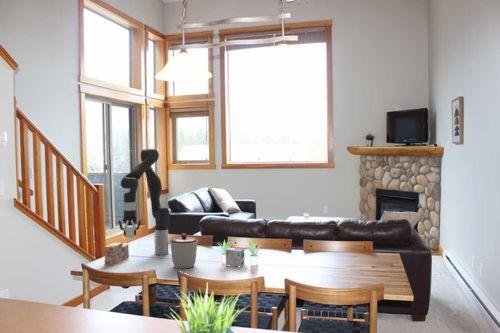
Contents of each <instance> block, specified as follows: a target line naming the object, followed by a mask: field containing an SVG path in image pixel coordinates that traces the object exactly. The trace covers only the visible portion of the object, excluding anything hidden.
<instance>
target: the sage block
mask: <svg viewBox="0 0 500 333" xmlns="http://www.w3.org/2000/svg"><path fill="white" fill-rule="evenodd" d="M125 238H126V239H127V238H135V236H134V227H133V225H131V226H127V227H126V237H125Z"/></svg>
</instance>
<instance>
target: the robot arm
mask: <svg viewBox="0 0 500 333" xmlns="http://www.w3.org/2000/svg"><path fill="white" fill-rule="evenodd" d="M159 158H160V154H159V151H158V150H157V149H156V148H146V149H142V150H141V152H140V159H141V162H140V163H138V164H137V165H136V166H135V167H133V169H132V170H131V171H130V172H129V173H127V174H126V175H125V176H124V177H122V179H121V180H120V186H121V188H122V189H124V190H125V189H128V190H129V191H128V192H125V193H124V194H123V219H119V220H118V224H119V225H118V226H119V229H120V230H121V231H123V236H124V237H125V238H126V227H130V226H133V227H134V237H136V236H137V230H139V229H140V226H141V222H142V219H140V218H139V219H138V218H137V204H136V195H137V190H138V186H139V180H140V179H141V178H142V176H143V175H144V174H145V178H146V183H147V188H148V192H149V196H150V197H149V198H150V206H151V213H152V214H151V215H152V217H153V218H154V219H155V220H158V221H159V222H158V224H156V225H154V254H155V255H159V256H164V255H169V225H170V210H169V208H168V207H166V206H161V205H162V204H161V202H160V201H161V200H160V198H161V194H162V192H163V188H162V187H163V186H162V181H161V178H160V177H159V175H158V174H157V172H156V171H155V170H154V169H153V167H152V166H153V165H154V164H155V163H156V162H157V161H158V159H159ZM136 222H137V223H138V224H137V227H136ZM123 223H124V227H123Z"/></svg>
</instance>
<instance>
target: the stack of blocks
mask: <svg viewBox="0 0 500 333" xmlns="http://www.w3.org/2000/svg"><path fill="white" fill-rule="evenodd" d="M129 251H130V250H129V244H127V243H123V242H112V243H110V244H107V245H105V246H104V266H109V265H111V267H114V266H116V265H117V264H120V263H121V262H123V261H125V260H127V259H128V258H129V257H130V255H129V254H130V252H129Z"/></svg>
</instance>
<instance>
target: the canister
mask: <svg viewBox="0 0 500 333" xmlns="http://www.w3.org/2000/svg"><path fill="white" fill-rule="evenodd" d="M198 242H199V240H198V238H196V237H193V236H188V235H187V233H184V232H183V233H181V235H180V236H177V237H174V238H171V240H168V243H169V244H170V251H171V259H172V265H173V266H174V268H176V269H182V270H183V269H191V268H193V267H194V266H195V264H196V261H197V260H196V258H197V250H198Z"/></svg>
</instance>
